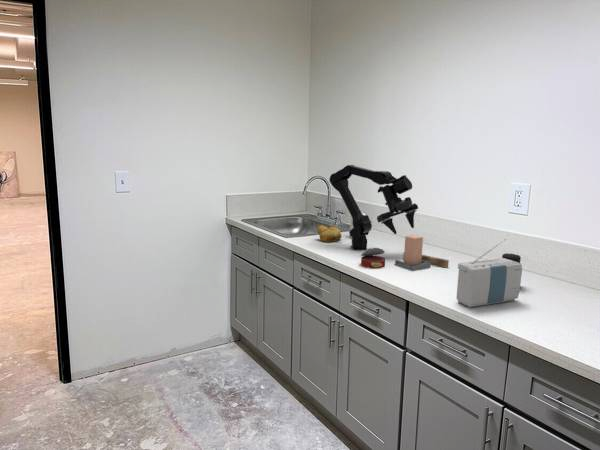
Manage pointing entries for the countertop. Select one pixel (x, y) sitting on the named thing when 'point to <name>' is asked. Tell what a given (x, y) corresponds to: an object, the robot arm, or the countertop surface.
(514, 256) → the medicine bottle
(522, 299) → the countertop surface
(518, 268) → the stereo radio cassette player
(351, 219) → the supplement box
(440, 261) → the door edge strip
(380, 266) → the canned food
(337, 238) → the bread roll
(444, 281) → the countertop surface
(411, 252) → the salmon pink cylinder
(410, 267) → the keeper bracket
